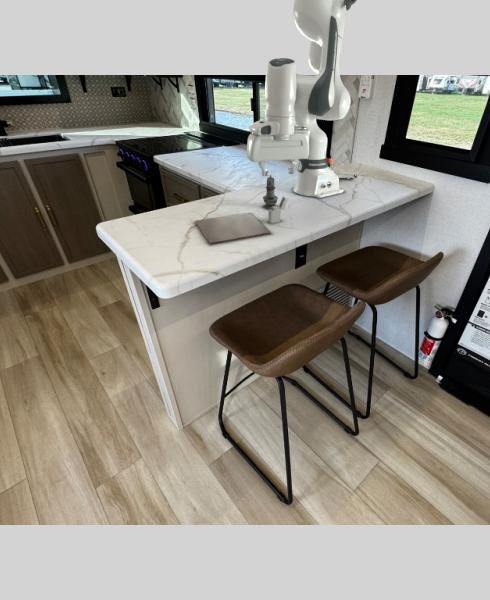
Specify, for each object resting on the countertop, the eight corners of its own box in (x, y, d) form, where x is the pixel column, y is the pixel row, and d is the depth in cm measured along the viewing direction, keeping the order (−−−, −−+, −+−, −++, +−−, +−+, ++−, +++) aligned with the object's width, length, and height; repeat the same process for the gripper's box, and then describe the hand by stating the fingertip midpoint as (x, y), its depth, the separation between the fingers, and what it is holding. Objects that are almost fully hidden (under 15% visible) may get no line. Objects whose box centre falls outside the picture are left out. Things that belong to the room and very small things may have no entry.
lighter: (270, 223, 109) (271, 200, 105) (268, 221, 111) (268, 199, 106) (287, 219, 113) (288, 197, 108) (284, 217, 114) (285, 195, 109)
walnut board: (250, 214, 115) (250, 212, 115) (270, 234, 103) (270, 232, 102) (195, 222, 108) (195, 220, 107) (210, 244, 95) (210, 243, 95)
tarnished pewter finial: (270, 203, 125) (271, 171, 118) (281, 207, 122) (282, 175, 115) (259, 206, 122) (259, 174, 115) (269, 210, 119) (269, 178, 112)
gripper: (304, 124, 100) (301, 170, 109) (244, 125, 92) (245, 174, 100) (314, 127, 96) (310, 174, 104) (252, 128, 88) (253, 179, 96)
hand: (278, 174), depth 102 cm, fingers open, 8 cm apart
